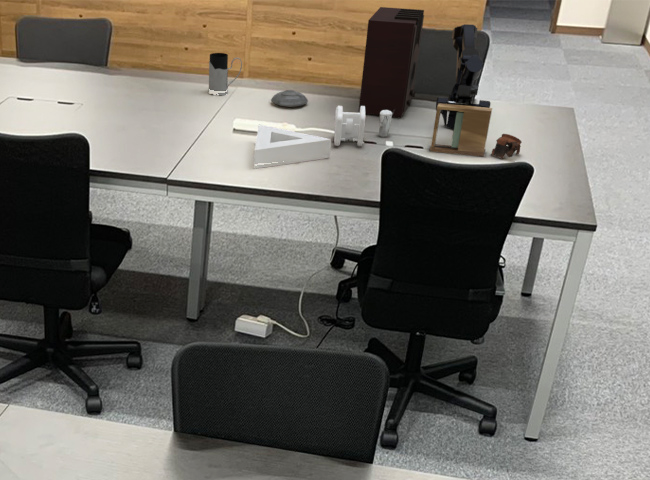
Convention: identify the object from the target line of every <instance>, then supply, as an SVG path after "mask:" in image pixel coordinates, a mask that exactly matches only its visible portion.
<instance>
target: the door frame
mask: <svg viewBox="0 0 650 480" xmlns="http://www.w3.org/2000/svg"><path fill="white" fill-rule="evenodd" d="M441 110H452V111H463V112H464V116H463V122H462V127H461V133H460V139H459V145H458V148H454V147H451V145H450V144H449V145H448V144H439V143H437V136H438V130H439V125H440V124H439V123H440V118H441V114H440V112H441ZM435 111H436V110H435ZM492 112H493V107H490V108H486V107H475V106H464V105H453V104H442V103H439V104H438V106H437V111H436V112H435V119H434V125H433V131H432V138H431V144H430V148H429V152H431V153H433V152H434V153H443V154H451V155H452V154H453V155H461V156H471V157H482V158H484V157H485V154H486V146H487V145H486V144H487V139H488V133H489V128H490V122H491V118H492Z"/></svg>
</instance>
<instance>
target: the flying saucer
mask: <svg viewBox="0 0 650 480" xmlns="http://www.w3.org/2000/svg"><path fill="white" fill-rule="evenodd" d="M270 101H271V103H272V104H274V105H277V106H280V107H287V108H293V107H294V108H295V107H301V106H304V105H306V104H308V102H309V100H308V98H307V97H306V95H304V94H303V93H301V92H299V91H297V90H296V91H295V90H293V89H286V90H283V91H280V92H279V91H278V92H277V93H276V94H274V95H272V97H271V99H270Z"/></svg>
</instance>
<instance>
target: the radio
mask: <svg viewBox="0 0 650 480" xmlns="http://www.w3.org/2000/svg"><path fill="white" fill-rule="evenodd" d="M424 19H425V9H417V8H416V9H415V8H403V7H402V8H401V7H387V6H380V7H379V8H378V9H377V10H376V11H375V12H374V14H372V16H371V17H370V18H369V19H368V21H367V30H366V39H365V49H364V57H363V67H362V77H361V84H360V85H361V86H360V95H359V104H358V112H357V113H360V107H361V106H365V116H367V115H375V116H380V112H381V111H382V110H389V111H391V112H392V113H393V114H392V117H393V118H395V119H401V118H403V116H404V114H405V112H406V110H407V108H408V107H409V106H411V101H412V99H413V98H415V96H416V91H415V84H416V76H417V70H418V69H417V68H418V61H419V57H420V56H419V54H420V49H421V48H420V47H421V40H422V35H423V34H422V33H423V28H424V27H423V26H424ZM393 111H394V112H393Z"/></svg>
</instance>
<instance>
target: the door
mask: <svg viewBox="0 0 650 480" xmlns="http://www.w3.org/2000/svg"><path fill="white" fill-rule="evenodd" d="M463 116H464V112H463V111H457V114H456V120H455V126H454V129H453V133H452V139H451V145H450V146H451V147H454V148H458V145H459V139H460V133H461V127H462V122H463Z"/></svg>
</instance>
